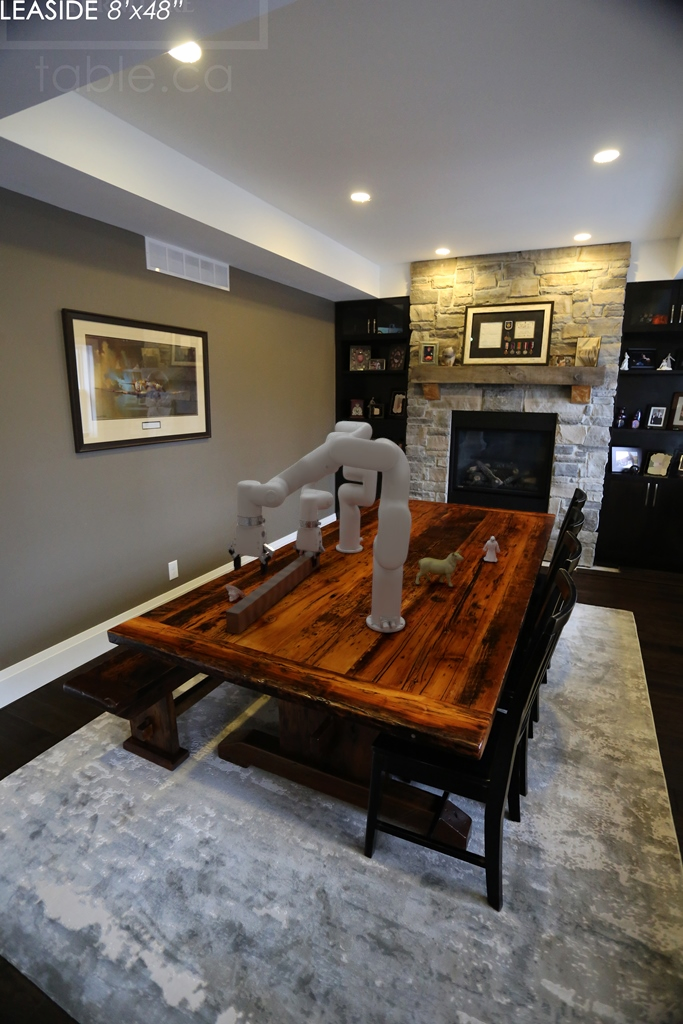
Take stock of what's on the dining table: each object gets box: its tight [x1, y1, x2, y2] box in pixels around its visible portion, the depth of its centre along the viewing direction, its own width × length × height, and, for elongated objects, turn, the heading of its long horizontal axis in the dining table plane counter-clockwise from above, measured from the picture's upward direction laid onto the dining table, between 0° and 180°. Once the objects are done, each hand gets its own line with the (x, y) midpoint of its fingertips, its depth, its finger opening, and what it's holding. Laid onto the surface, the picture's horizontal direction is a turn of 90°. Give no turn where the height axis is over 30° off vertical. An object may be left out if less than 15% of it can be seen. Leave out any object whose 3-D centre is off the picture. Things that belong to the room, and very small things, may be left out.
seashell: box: [224, 584, 247, 602], centre depth 178 cm, size 8×5×8 cm
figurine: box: [482, 535, 501, 563], centre depth 223 cm, size 8×8×12 cm
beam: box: [225, 549, 321, 635], centre depth 185 cm, size 67×4×7 cm, turn 160°
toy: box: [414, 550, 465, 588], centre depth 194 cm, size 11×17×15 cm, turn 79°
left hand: (308, 565), depth 209 cm, fingers closed on beam, 4 cm apart
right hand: (250, 572), depth 160 cm, fingers open, 9 cm apart
